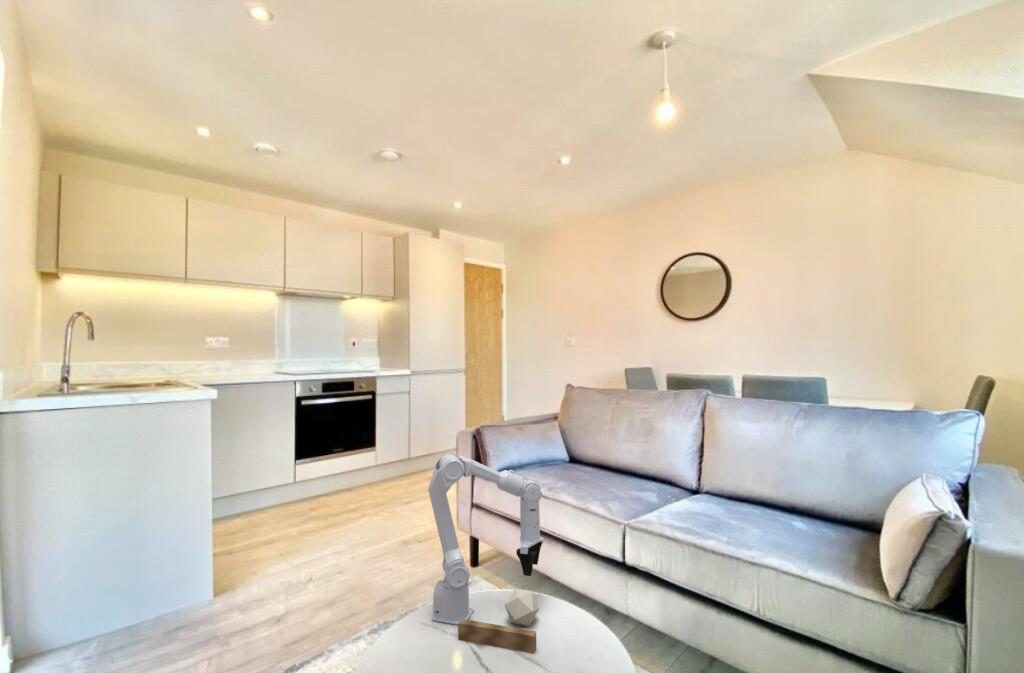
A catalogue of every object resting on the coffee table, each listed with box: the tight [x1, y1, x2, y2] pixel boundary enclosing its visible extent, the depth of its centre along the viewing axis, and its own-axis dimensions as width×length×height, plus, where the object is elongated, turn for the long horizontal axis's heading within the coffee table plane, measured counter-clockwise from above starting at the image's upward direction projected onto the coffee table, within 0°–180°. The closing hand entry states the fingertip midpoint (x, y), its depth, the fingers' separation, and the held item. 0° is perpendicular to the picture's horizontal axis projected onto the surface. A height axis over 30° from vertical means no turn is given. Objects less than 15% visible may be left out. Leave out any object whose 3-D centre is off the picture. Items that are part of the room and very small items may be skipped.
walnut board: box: [457, 619, 537, 654], centre depth 108 cm, size 20×2×4 cm, turn 73°
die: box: [504, 587, 540, 628], centre depth 118 cm, size 8×9×10 cm
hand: (530, 569), depth 128 cm, fingers open, 7 cm apart
